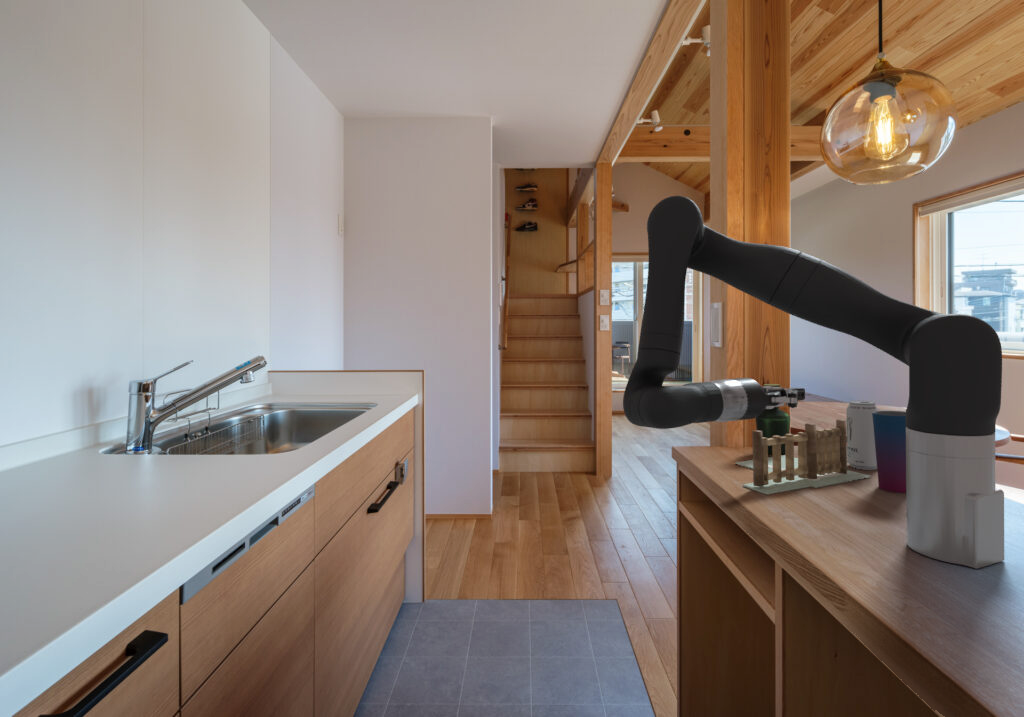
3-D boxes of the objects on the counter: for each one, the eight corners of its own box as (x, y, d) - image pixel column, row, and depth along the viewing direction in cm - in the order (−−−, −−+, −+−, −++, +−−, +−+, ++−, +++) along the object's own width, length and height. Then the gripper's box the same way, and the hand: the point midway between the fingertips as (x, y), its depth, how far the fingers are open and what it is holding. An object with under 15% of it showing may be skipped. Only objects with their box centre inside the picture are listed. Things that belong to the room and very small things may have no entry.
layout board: (870, 477, 102) (870, 475, 102) (771, 496, 93) (771, 493, 93) (785, 456, 122) (785, 454, 122) (696, 470, 113) (696, 468, 113)
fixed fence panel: (849, 475, 104) (848, 420, 104) (812, 482, 101) (811, 425, 100) (840, 473, 106) (839, 419, 106) (803, 479, 103) (802, 423, 102)
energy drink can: (843, 463, 114) (842, 400, 113) (874, 464, 112) (873, 400, 111) (852, 470, 108) (851, 403, 108) (884, 471, 106) (883, 403, 106)
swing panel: (802, 475, 102) (801, 424, 102) (810, 477, 101) (809, 425, 100) (751, 484, 98) (750, 430, 98) (758, 487, 96) (757, 432, 96)
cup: (925, 494, 91) (925, 415, 90) (884, 494, 92) (883, 415, 91) (904, 484, 97) (903, 410, 97) (866, 483, 99) (865, 410, 98)
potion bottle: (749, 450, 130) (747, 384, 129) (777, 448, 131) (776, 382, 130) (768, 457, 122) (766, 386, 121) (798, 455, 122) (797, 385, 122)
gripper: (759, 381, 80) (834, 376, 86) (703, 376, 93) (772, 372, 98) (759, 426, 80) (834, 418, 86) (703, 415, 93) (772, 408, 99)
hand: (801, 393), depth 92 cm, fingers closed
